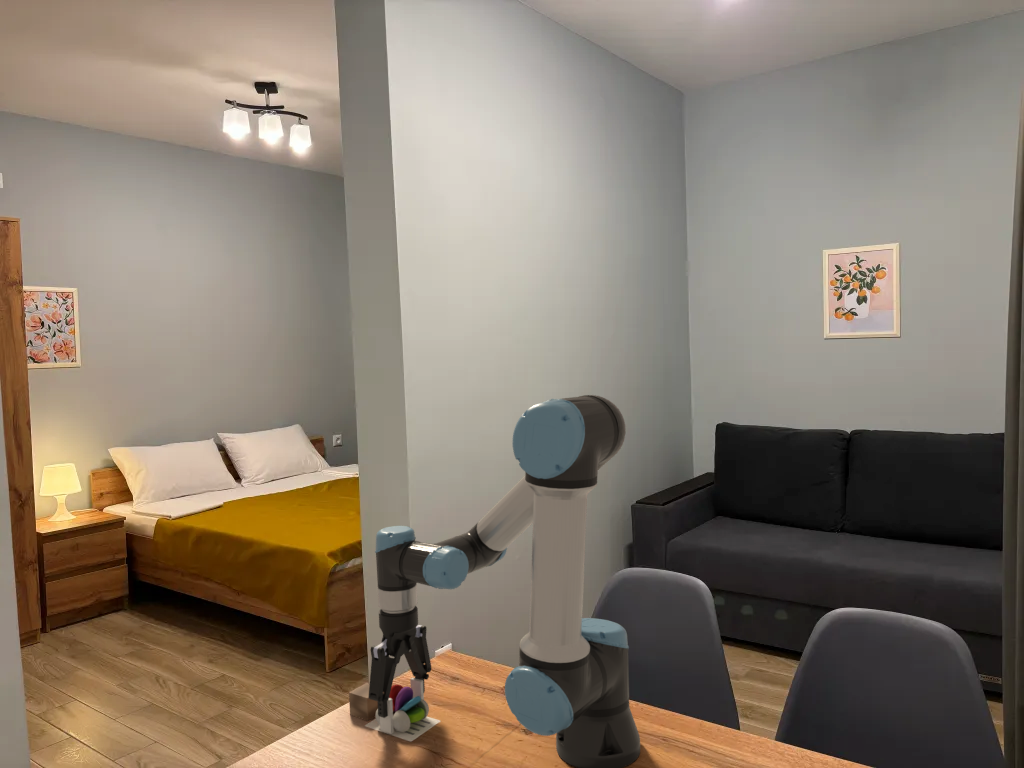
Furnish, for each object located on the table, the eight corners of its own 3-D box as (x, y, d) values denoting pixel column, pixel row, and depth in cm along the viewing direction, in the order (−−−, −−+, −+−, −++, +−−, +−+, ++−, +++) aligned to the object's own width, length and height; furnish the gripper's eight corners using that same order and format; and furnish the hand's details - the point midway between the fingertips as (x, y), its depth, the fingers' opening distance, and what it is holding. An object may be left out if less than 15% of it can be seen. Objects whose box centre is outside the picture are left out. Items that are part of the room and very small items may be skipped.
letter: (441, 722, 148) (441, 720, 148) (411, 743, 140) (411, 741, 140) (395, 708, 155) (395, 706, 155) (364, 727, 147) (364, 725, 147)
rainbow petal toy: (399, 707, 154) (398, 672, 153) (436, 719, 148) (435, 683, 148) (369, 725, 147) (368, 688, 146) (407, 738, 141) (406, 700, 141)
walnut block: (385, 712, 153) (384, 688, 153) (368, 722, 149) (367, 698, 149) (367, 706, 156) (366, 682, 156) (350, 716, 152) (349, 692, 152)
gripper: (418, 588, 157) (422, 695, 158) (344, 621, 140) (349, 740, 141) (446, 594, 153) (451, 703, 154) (374, 628, 135) (379, 751, 137)
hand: (402, 721), depth 147 cm, fingers closed on rainbow petal toy, 8 cm apart
